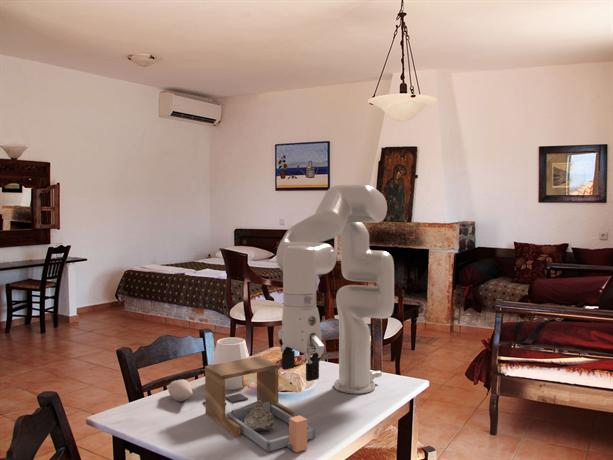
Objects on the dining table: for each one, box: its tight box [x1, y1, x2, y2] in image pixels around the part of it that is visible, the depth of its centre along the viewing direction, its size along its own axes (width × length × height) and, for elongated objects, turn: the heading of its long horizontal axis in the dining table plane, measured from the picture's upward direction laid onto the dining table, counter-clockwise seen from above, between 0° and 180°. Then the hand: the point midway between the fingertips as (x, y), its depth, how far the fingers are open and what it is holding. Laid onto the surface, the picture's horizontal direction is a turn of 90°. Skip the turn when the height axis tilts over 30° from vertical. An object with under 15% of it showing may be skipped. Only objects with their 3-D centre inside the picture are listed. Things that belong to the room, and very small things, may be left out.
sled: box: [227, 402, 316, 453], centre depth 136 cm, size 13×24×7 cm, turn 35°
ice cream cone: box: [167, 379, 193, 402], centre depth 158 cm, size 6×6×15 cm
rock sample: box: [241, 400, 275, 432], centre depth 139 cm, size 10×8×9 cm
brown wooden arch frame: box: [202, 355, 296, 438], centre depth 149 cm, size 17×26×13 cm, turn 35°
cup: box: [211, 337, 250, 391], centre depth 172 cm, size 13×13×14 cm
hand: (300, 374), depth 126 cm, fingers open, 9 cm apart
